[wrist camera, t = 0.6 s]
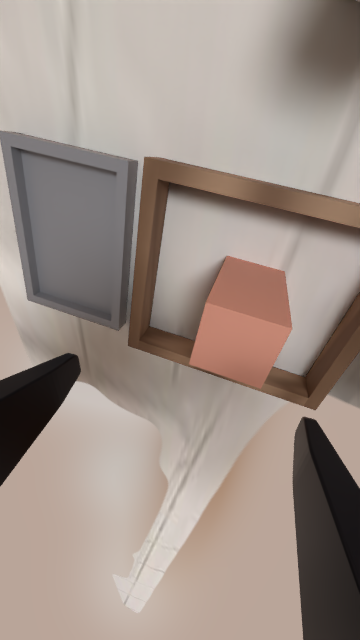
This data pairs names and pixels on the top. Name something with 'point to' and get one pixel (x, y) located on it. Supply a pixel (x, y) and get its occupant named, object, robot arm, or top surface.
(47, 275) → the charcoal tray
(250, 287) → the brick block
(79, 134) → the top surface
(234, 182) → the frame
